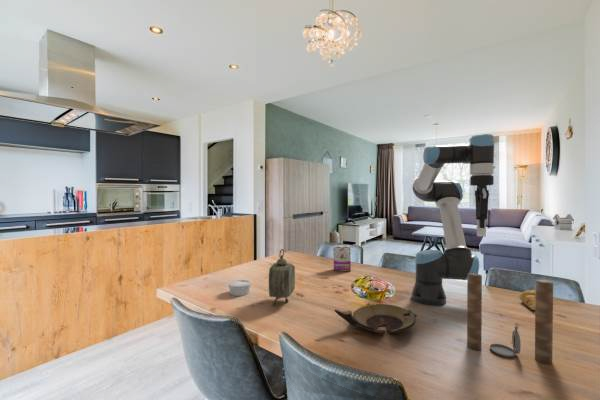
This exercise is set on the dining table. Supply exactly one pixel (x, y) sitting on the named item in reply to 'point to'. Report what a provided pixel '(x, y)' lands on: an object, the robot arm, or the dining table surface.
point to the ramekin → (239, 287)
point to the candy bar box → (342, 258)
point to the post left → (474, 311)
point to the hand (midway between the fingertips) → (481, 236)
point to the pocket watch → (507, 350)
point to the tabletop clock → (281, 279)
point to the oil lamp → (380, 318)
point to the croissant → (528, 298)
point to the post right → (544, 321)
